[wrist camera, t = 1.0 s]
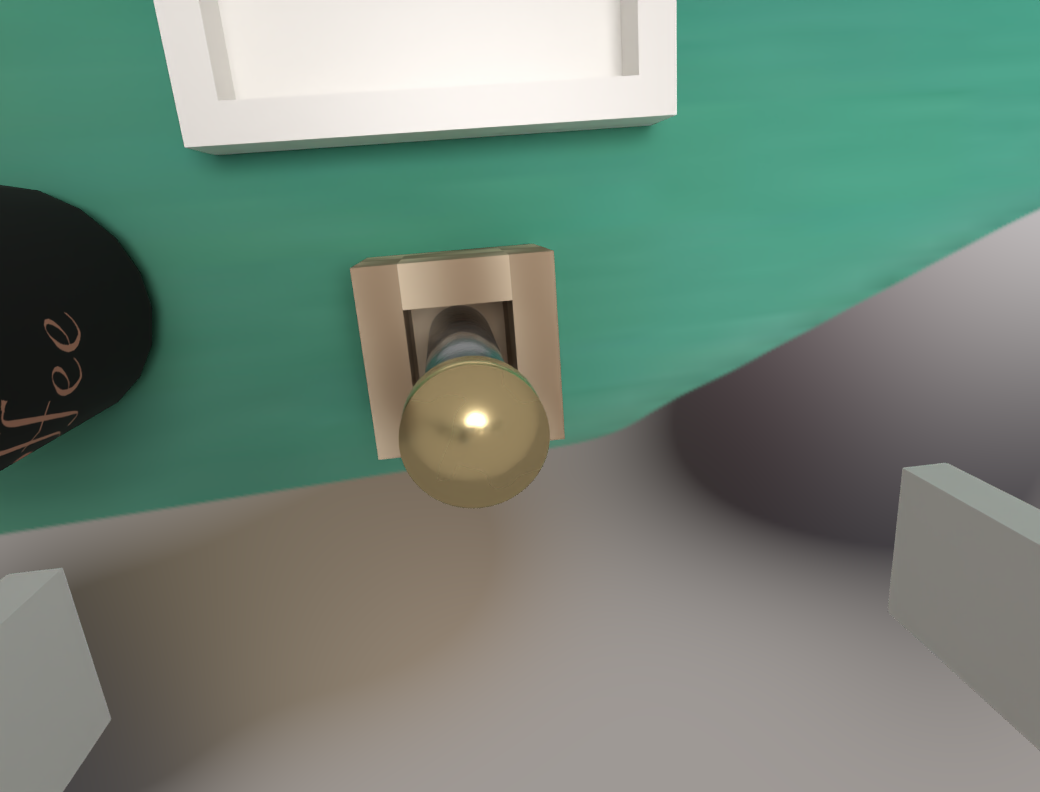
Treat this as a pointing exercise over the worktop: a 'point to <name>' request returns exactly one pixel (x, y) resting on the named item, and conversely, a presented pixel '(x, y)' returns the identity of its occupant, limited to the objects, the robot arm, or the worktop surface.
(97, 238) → the coffee jar
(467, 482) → the steel pin
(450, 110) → the tray
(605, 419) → the worktop surface
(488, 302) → the block
